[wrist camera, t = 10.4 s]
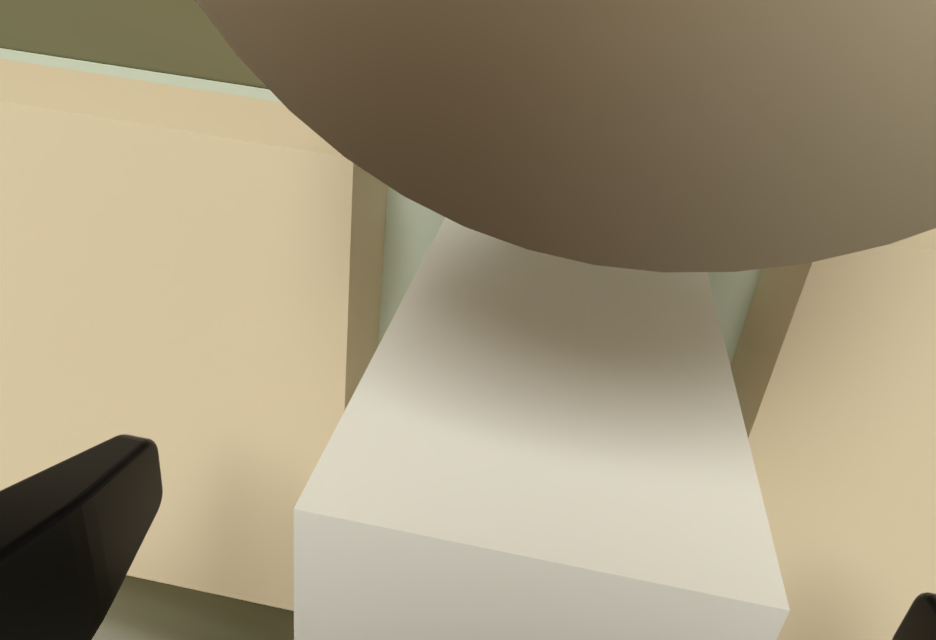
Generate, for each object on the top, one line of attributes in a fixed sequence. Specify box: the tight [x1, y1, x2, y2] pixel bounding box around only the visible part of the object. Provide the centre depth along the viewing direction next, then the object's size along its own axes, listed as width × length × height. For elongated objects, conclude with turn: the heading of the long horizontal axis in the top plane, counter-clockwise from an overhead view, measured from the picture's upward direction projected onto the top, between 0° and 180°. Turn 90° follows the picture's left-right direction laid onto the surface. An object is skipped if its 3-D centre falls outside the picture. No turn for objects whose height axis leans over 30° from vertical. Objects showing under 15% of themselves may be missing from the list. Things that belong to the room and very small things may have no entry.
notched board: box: [0, 48, 936, 640], centre depth 13 cm, size 20×9×3 cm, turn 84°
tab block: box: [294, 217, 790, 640], centre depth 10 cm, size 4×4×7 cm
